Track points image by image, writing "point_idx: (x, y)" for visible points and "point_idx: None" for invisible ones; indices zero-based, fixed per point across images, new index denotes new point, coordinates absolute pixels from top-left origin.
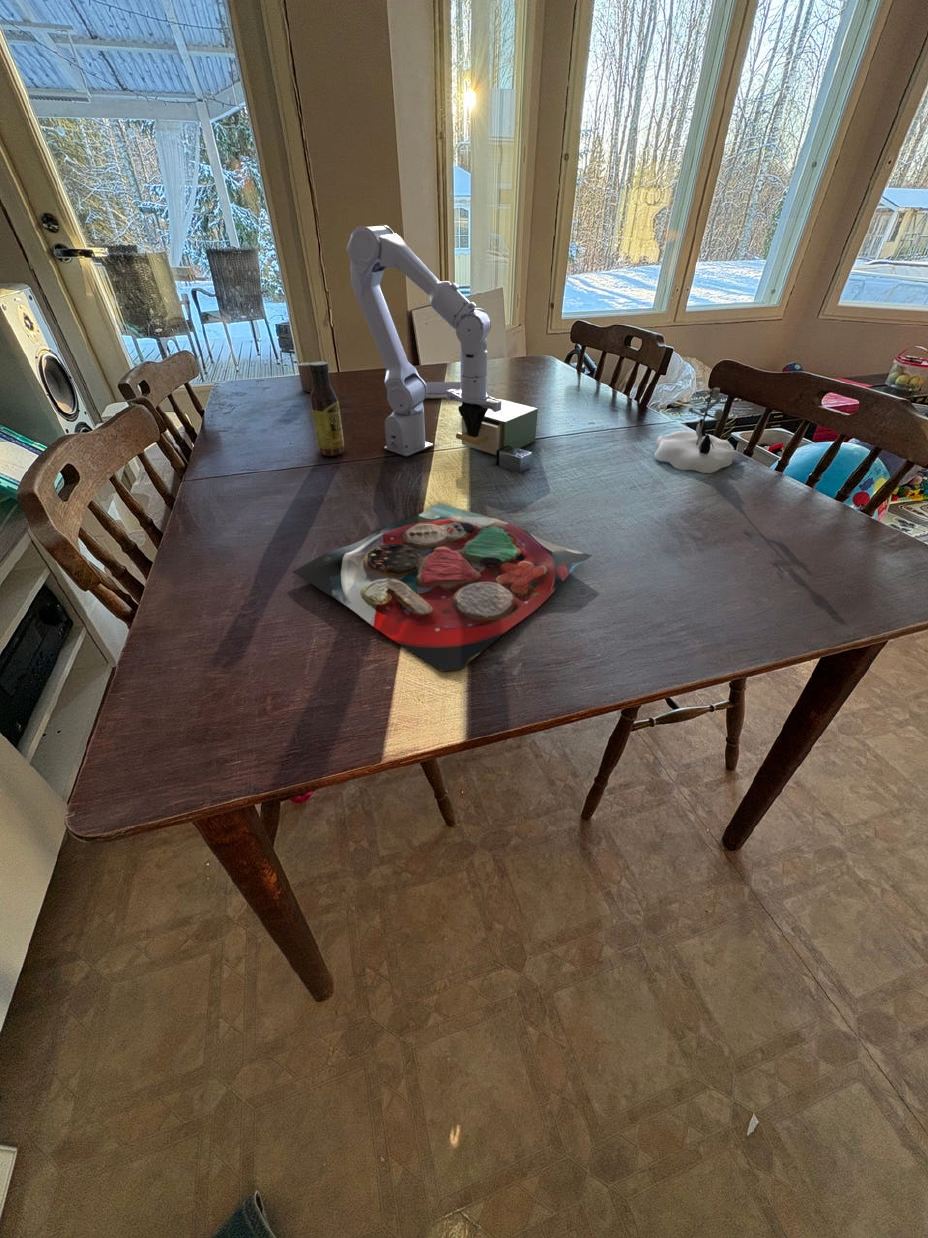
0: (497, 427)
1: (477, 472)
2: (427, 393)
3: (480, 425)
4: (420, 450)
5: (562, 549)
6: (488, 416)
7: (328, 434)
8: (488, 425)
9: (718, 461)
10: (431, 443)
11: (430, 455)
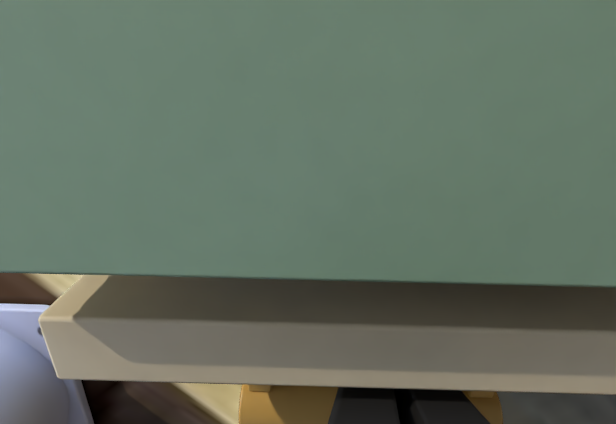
0: None
1: (516, 406)
2: None
3: (465, 400)
4: (85, 397)
5: None
6: (526, 253)
7: None
8: (604, 390)
9: None
10: (35, 314)
11: (168, 393)
